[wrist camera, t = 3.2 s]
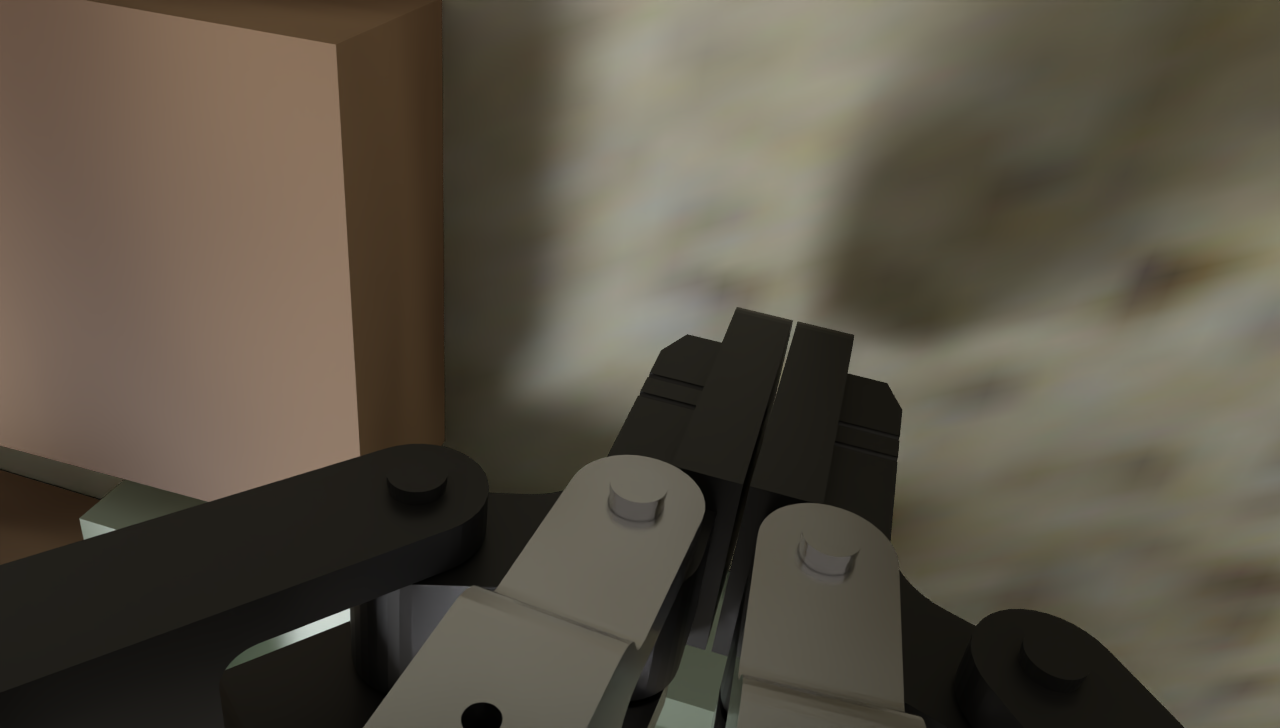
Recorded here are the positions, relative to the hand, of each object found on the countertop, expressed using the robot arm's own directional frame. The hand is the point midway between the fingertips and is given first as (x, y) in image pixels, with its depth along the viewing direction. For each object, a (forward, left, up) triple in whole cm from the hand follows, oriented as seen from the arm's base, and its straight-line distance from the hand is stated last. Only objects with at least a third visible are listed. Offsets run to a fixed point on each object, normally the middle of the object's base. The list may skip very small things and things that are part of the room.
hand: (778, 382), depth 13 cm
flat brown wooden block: (+9, 0, -2) cm, 9 cm away
